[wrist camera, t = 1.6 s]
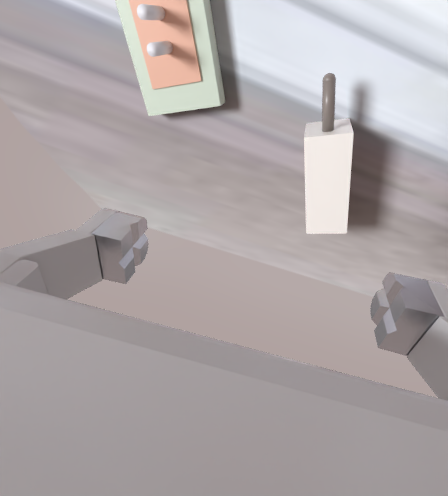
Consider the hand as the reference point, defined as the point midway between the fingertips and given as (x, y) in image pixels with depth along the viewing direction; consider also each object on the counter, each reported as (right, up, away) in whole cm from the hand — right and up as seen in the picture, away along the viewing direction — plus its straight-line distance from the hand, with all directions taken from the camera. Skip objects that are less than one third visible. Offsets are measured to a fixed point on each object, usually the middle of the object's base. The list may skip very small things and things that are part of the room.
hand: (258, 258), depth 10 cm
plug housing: (+10, +11, +21) cm, 25 cm away
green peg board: (-6, +22, +17) cm, 29 cm away
